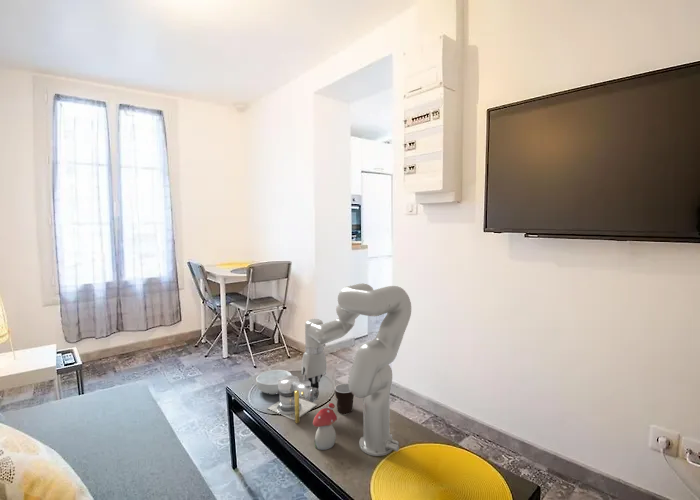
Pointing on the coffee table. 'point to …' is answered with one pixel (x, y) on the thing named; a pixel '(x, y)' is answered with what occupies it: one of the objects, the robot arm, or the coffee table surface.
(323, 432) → the decorative ornament
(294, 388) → the elbow
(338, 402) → the coffee mug
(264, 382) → the cereal bowl
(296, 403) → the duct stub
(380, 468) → the coffee table surface
